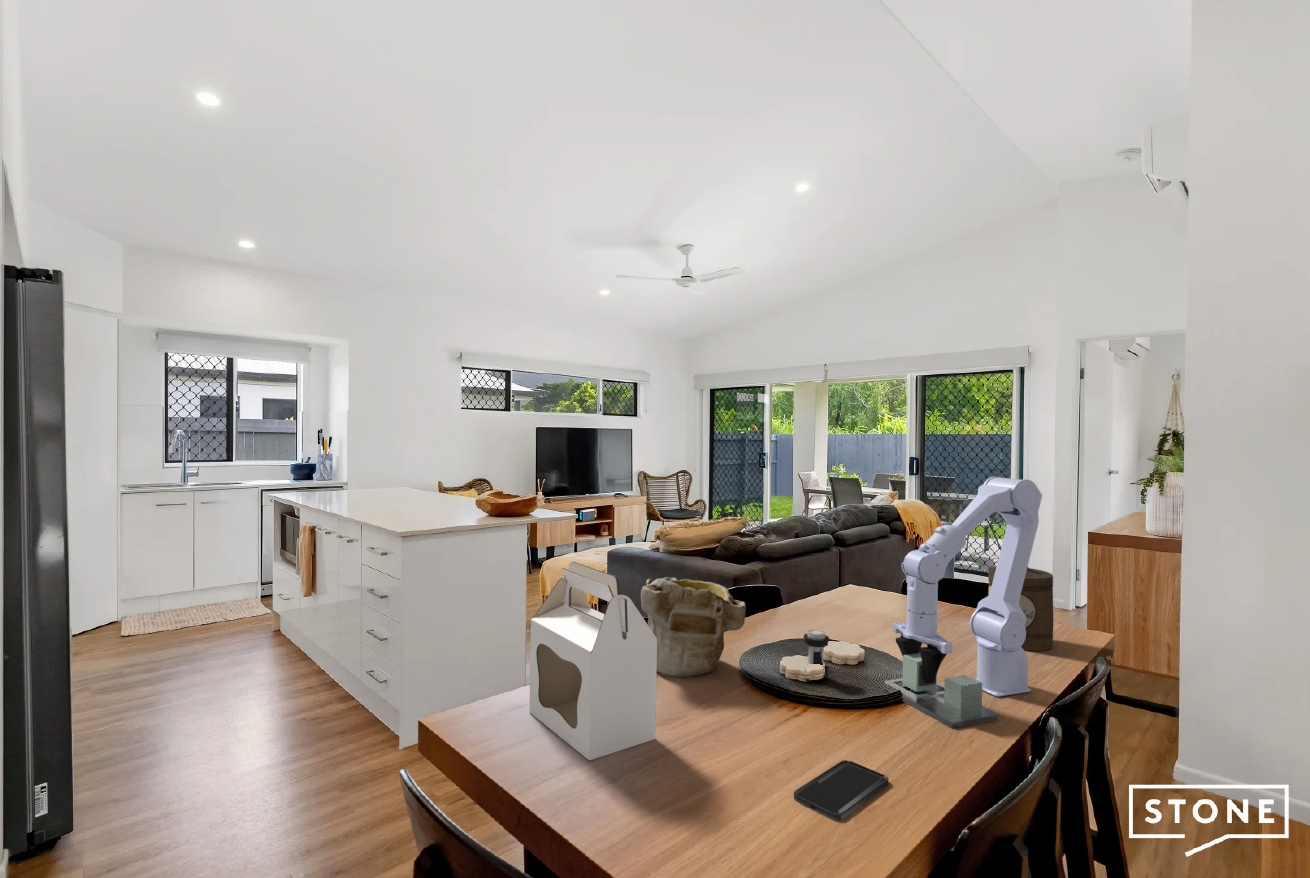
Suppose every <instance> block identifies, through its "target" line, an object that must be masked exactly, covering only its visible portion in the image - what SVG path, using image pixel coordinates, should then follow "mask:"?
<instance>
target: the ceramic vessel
mask: <svg viewBox="0 0 1310 878" xmlns="http://www.w3.org/2000/svg"><path fill="white" fill-rule="evenodd" d="M645 583H646V585H644V586H642V588H641V591H640V601H641V610H642V611H643V612H644V613H645V614H646V615H647V625H648V626H649V628H650V629H651V631H652V632H653V634H654V635H655V637H657V672H658V673H660V674H662V675H665V676H668V677H674V678H686V677H692V676H697V675H698V676H699V675H703V674H704V675H705V674H709V673H713V672H714V670H715V669H716V667H717V665H718V663H719V661H720V659H721V657H722V654H723V651H724V649H725V640H724V639H725V637H724V634H725V632H730V631H732V632H733V631H738V630H740V629H742V628H743V626H744V625H745V620H746V612H747V607H746V606H747V605H746V602H744V601H741V600H737V599H734V597H733V596H732V595H731V593H730V592H729V589H728V588H726V587H725V586H724V585H721V584H718V583H715V582H712V581H702V580H693V579H687V578H683V579H679V580H678V579H677V577H669V576H665V577H663V578H656V579H655V580H653V581H652V579H651V578H648V579H647V580H646V581H645Z"/></svg>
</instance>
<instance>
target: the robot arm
mask: <svg viewBox="0 0 1310 878" xmlns="http://www.w3.org/2000/svg"><path fill="white" fill-rule="evenodd" d="M977 489H978V490H977V495H976V496H975V497H974V498H973V499H972V500H971V501H970V503H969V504H968V505H967V506H966V508H965V509H964V510H963V511H962V512H961V513H960V515H959V516H958V517H957V518H956V519H955V520H954V521H953V523H952V524H943V525H941V526H937V527H936V528H935V529H934V531H935V532H934V533H933V534H932V535H931V536H930V537H929V538H928V539H927V540H926V541H925V542H923V543H921V544H920V546H919V548H918V549H914V550H911V551H910V552H908V553H907V554H906V555H905V557H904V559H903V562H901V565H900V566H901V569H902V572H903V573H904V575H905V577H906V578H905V582H906V583H907V587H906V590H907V591H906V594H907V595H906V623H903V622H901V621H900V622H892V632H893V633H895V634H901V635H900V636H899V637H896V638H895V643H896V645H897V646H898V649H899V651H900V653H901V655H902V657H903V655H909V654H917V653H920V655H921V658H922V664H923V678H924V682H925V683H933V682H935V679H936V675H938V672H939V670H940V666H941V664H942V662H943V661H944V659H945V658H946V657H947V655H948V654H953V642H951V641H949V640H947V639H946V638H944V637H943V636H942V635H940V634H939V633H938V632H937V631H938V602H939V601H938V599H939V597H938V595H939V594H938V591H939V590H938V589H939V581H940V580H943V578H944V577H945V574H946V570H947V567H948V565H949V563H950V562H951V560H952V559H954V557H956V555H957V554H958V553H959V552H960V551H961V550H962V549H964V547H965V546H966V545H967V539H966V538H967V536H968V535H969V534H970V533H971V532H972V531H973V530H975V529H976V528H977V527H978V526H980V524H982V522H984V521H985V520H986V519H987V518H989V517H990V516H991V515H992V514H994V513H998V514H999V515H1000V516H1001V517H1002V518H1003V520H1004V521H1005V523H1006V529H1005V532H1004V536H1003V540H1002V543H1001V548H1000V552H999V555H998V561H997V564H996V566H995V567H996V571H995V575H994V579H993V583H992V587H991V590H990V594H989V596H988V595H987V596H985V597H984V598H982V599H981V600H980V601H978V603H977V606H976V609H975V611H974V612H973V613H972V614H971V617H970V620H969V628H970V632H972V634H973V635H974V636H975V642H977V651H976V652H977V654H976V655H977V656H976V657H977V659H976V678H975V679H976V680H978V681H980V682H982V691H983V692H985V693H989V694H991V695H992V696H993V697H1006V696H1009V695H1010V696H1012V695H1018V694H1023V693H1029V692H1031V691H1032V689H1031V687H1028V681H1029V679H1028V678H1029V677H1028V676H1029V673H1028V672H1029V658H1028V654H1027V653H1026V650H1023V648H1022V647H1021V646H1022V644H1023V643H1024V641H1025V638H1026V629H1025V622H1026V615H1025V614H1024V612H1023V611H1022V610H1021V608H1020V607H1019V605H1018V602H1019V598H1020V594H1021V590H1022V587H1023V583H1024V579H1025V575H1026V571H1027V567H1028V568H1029V564H1030V563H1029V562H1030V558H1031V554H1032V551H1033V545H1034V543H1035V539H1036V535H1037V531H1038V527H1039V520H1040V519H1039V510H1040V506H1041V503H1042V502H1041V501H1042V498H1043V494H1042V492H1041V491H1040V489H1039V488H1038V485H1036V483H1035V482H1034V481H1032V480H1031V479H1026V478H1024V479H1018V478H1017V479H1016V478H1006V477H1001V476H991V477H988V478H987V479H986V480H985V481H984V483H983V484H981V485H980V486H979V487H978V488H977ZM997 612H1000V613H1002V614H1003V615H1004V616H1003V615H1000V614H998V613H997ZM923 644H924V645H926V646H922V645H923Z"/></svg>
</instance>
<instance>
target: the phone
mask: <svg viewBox="0 0 1310 878" xmlns="http://www.w3.org/2000/svg"><path fill="white" fill-rule="evenodd" d="M888 786H889V777H888V776H887V775H885V774H883V773H880V772H877V771H876V770H873V769H872V768H868V767H867V766H863V765H861V764H858V763H856V762H854V761H852V760H848V759H844V760H840V761H839V762H838V763H836V764H835V765H833V766H831V767H830V768H829V769H827V770H825V771H823V772H822V773H820V774H819V775H817V776H816V777H814V778H813V779H811V780H809V781H808V782H806V783H804V784H803V785H801V786H800V787H798V788H797V789H795V790H794V792H793V799H794V801H795V802H797V803H798V804H800V805H802V806H805V807H807V808H809V809H811V810H812V811H815V812H817V813H819V814H821V815H823V816H825V817H827V818H829V819H831V820H834V821H842V820H844V819H845V818H847V817H849V816H850V815H851V814H852V813H854V812H855V811H857V809H859V808H860V807H861V806H863V805H865V803H867V802H868V801H870V800H871V799H872V798H873V797H874V796H876V795H877V794H879V793H880V792H881V791H883V790H884V789H885V788H887V787H888Z"/></svg>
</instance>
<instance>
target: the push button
mask: <svg viewBox="0 0 1310 878" xmlns="http://www.w3.org/2000/svg"><path fill="white" fill-rule="evenodd" d="M803 639H804V644H806V645H807V647H808V656H807V658H808V659H807V660H808V663H809V664H820V665H825V661H824V652H825V651H824V650H825V649H824V648H825V647H827V646H829V641H830V637H829V636H828V635H826V633H825V631H823V630H820V629H809V630H808V631H807V633H804V634H803ZM808 663H807V664H808ZM828 670H829V667H828V666H827V665H825V677H828V674H829V673H828Z"/></svg>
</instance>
